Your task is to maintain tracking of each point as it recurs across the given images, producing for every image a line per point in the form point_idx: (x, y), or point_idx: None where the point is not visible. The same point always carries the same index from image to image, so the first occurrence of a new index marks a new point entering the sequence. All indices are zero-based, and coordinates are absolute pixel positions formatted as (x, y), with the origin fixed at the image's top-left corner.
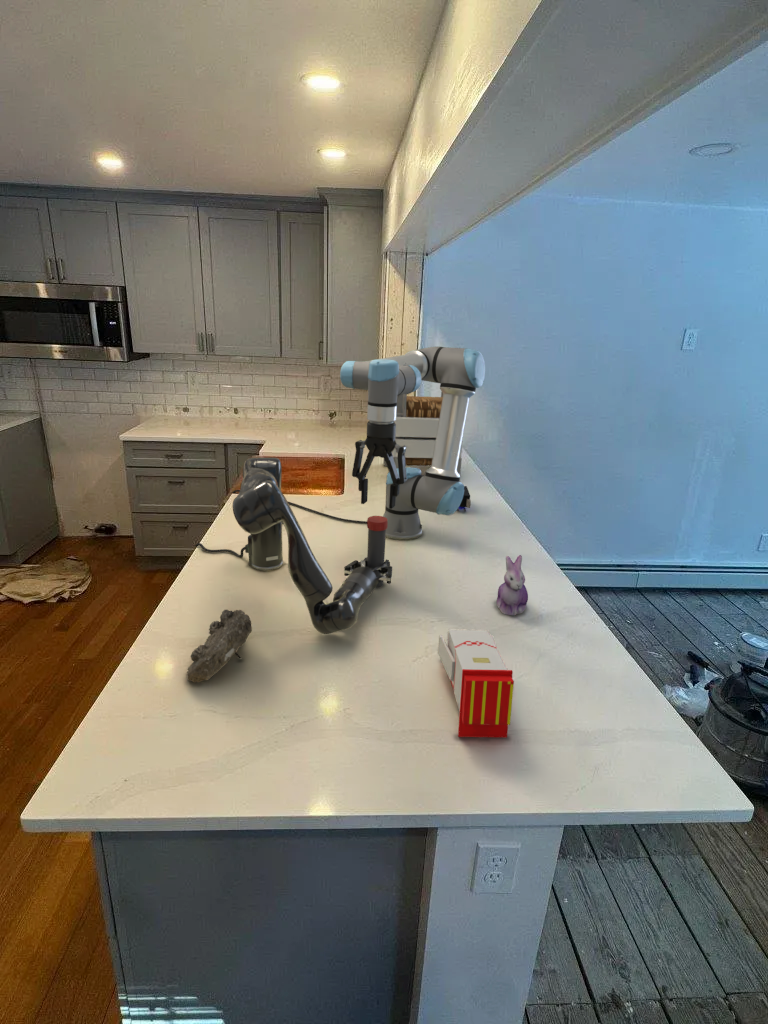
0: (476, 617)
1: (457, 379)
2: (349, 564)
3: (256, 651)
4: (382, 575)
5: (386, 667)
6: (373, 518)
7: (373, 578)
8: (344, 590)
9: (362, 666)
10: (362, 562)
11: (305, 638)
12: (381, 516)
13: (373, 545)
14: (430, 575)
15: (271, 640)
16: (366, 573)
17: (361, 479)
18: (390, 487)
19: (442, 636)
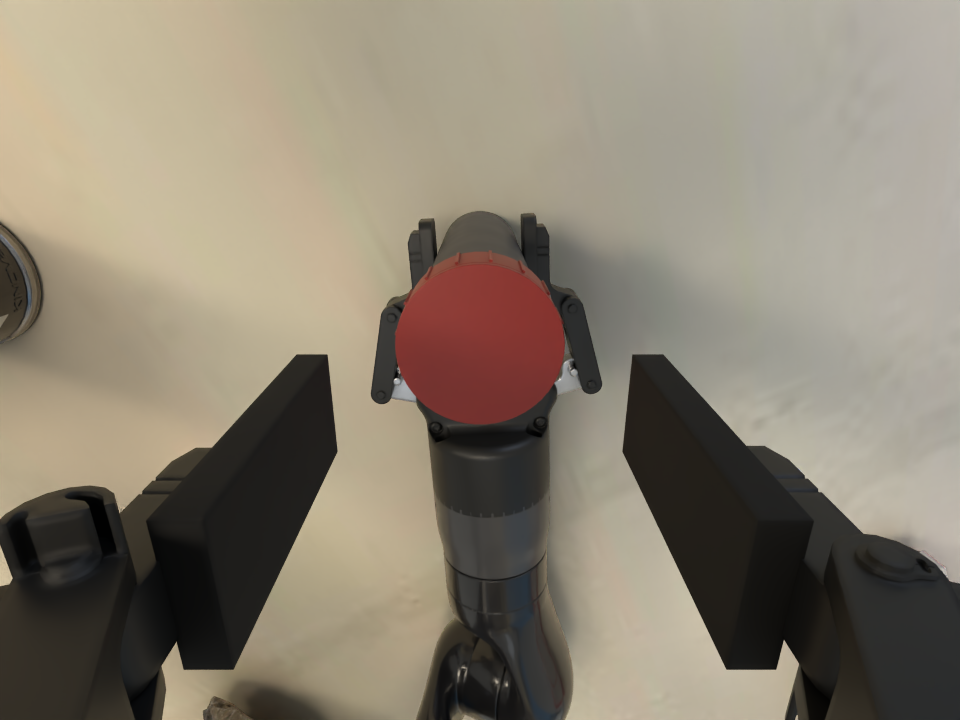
0: (918, 335)
1: None
2: (379, 364)
3: (347, 705)
4: None
5: (668, 654)
6: (443, 348)
7: (544, 466)
8: (496, 643)
9: (611, 669)
10: None
11: (425, 629)
12: (486, 270)
13: None
14: (702, 31)
15: (350, 663)
16: (519, 496)
17: (160, 684)
18: (714, 634)
19: None
